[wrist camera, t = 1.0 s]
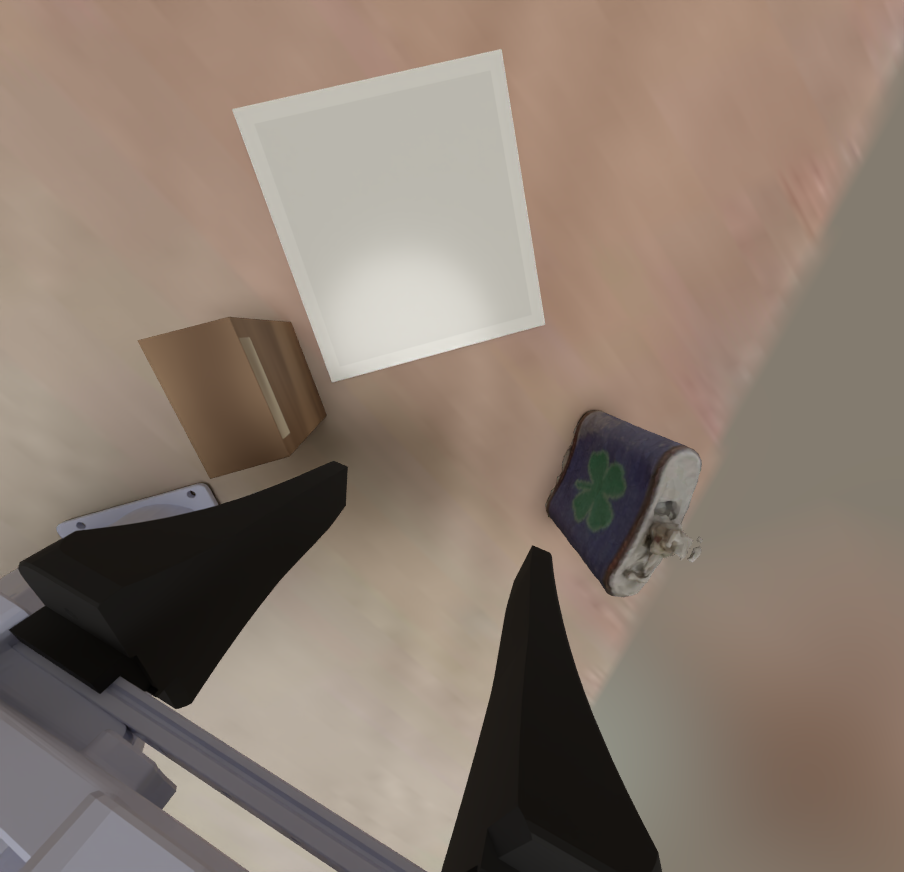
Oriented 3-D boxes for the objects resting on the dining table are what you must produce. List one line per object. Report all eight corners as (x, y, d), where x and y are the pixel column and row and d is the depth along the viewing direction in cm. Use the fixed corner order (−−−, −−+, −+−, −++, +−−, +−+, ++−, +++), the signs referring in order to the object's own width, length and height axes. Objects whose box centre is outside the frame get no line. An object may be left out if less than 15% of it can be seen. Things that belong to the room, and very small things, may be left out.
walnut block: (274, 429, 23) (210, 478, 15) (233, 337, 21) (137, 340, 13) (326, 415, 23) (289, 456, 15) (291, 322, 21) (228, 316, 13)
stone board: (334, 380, 22) (331, 382, 21) (239, 118, 18) (231, 108, 17) (540, 324, 23) (545, 324, 22) (497, 60, 19) (502, 47, 18)
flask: (583, 405, 25) (706, 456, 15) (617, 415, 26) (757, 470, 16) (538, 516, 27) (620, 625, 17) (571, 522, 28) (668, 632, 18)
